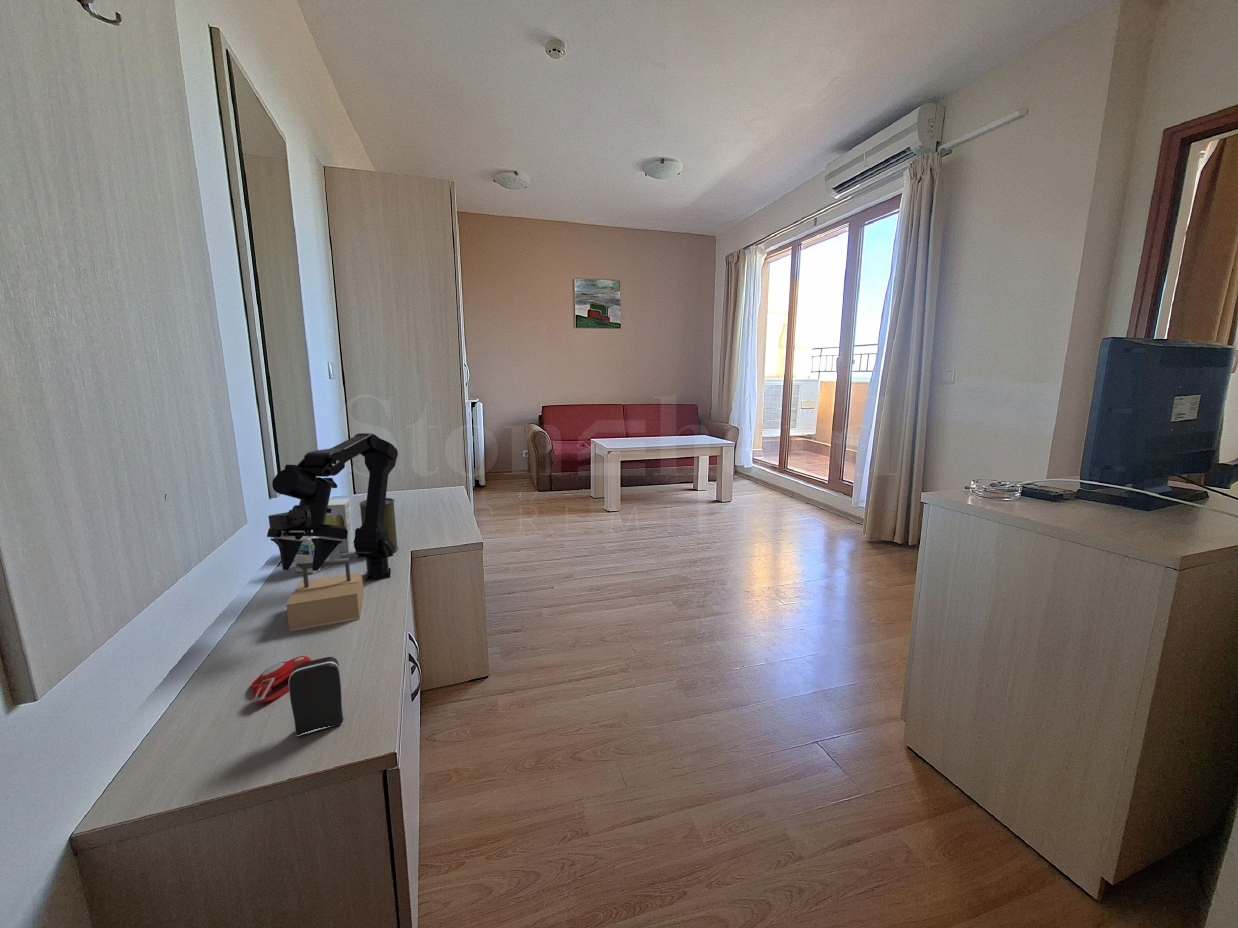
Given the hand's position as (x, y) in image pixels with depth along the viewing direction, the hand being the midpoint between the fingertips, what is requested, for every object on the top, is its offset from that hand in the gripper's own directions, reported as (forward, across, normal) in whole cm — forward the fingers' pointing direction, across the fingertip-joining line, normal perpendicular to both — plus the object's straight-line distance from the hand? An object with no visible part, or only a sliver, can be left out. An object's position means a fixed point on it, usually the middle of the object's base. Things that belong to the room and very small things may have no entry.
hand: (300, 570), depth 105 cm
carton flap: (+3, -5, +12) cm, 13 cm away
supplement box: (-8, -39, +41) cm, 58 cm away
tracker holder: (+22, +13, -10) cm, 27 cm away
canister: (-8, -24, +45) cm, 52 cm away
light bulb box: (-2, -32, +30) cm, 44 cm away
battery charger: (+26, +30, -13) cm, 41 cm away
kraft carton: (+10, -3, +12) cm, 16 cm away
